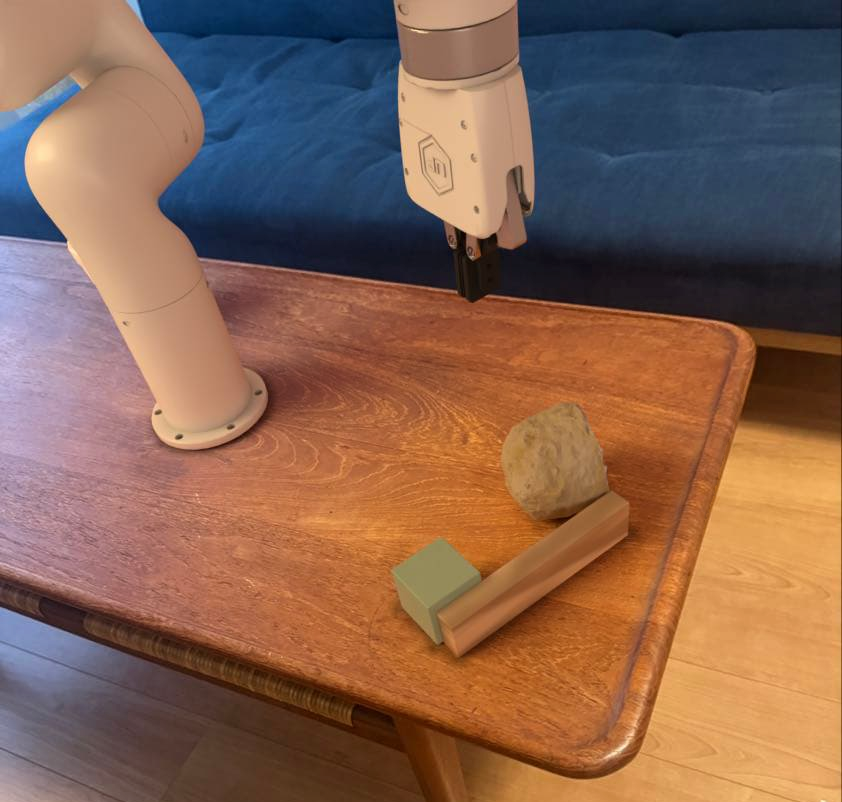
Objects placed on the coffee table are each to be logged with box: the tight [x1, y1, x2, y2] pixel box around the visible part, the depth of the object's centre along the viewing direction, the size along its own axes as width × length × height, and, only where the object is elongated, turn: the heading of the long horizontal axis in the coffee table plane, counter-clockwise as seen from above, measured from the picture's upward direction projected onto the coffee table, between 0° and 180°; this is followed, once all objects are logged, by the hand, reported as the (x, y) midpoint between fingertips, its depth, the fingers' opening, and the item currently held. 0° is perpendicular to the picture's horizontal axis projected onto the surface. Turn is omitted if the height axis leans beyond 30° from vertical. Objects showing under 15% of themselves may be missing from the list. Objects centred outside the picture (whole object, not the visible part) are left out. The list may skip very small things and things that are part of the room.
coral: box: [500, 400, 611, 522], centre depth 69 cm, size 10×10×10 cm
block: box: [390, 536, 483, 646], centre depth 64 cm, size 5×5×5 cm
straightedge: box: [436, 489, 631, 658], centre depth 65 cm, size 2×18×4 cm, turn 126°
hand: (479, 291), depth 66 cm, fingers closed
